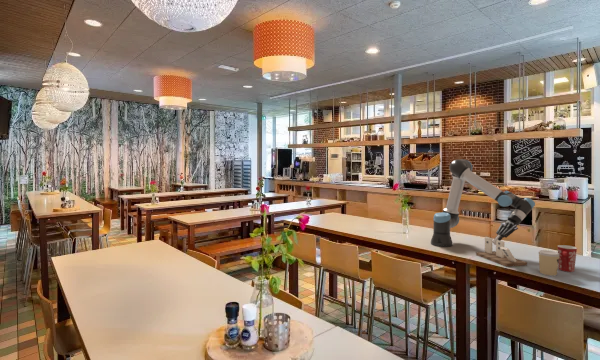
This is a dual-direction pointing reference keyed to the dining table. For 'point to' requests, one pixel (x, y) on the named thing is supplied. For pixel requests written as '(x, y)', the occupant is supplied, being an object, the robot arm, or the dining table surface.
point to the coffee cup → (548, 262)
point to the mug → (567, 258)
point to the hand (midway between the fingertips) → (494, 243)
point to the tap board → (500, 259)
